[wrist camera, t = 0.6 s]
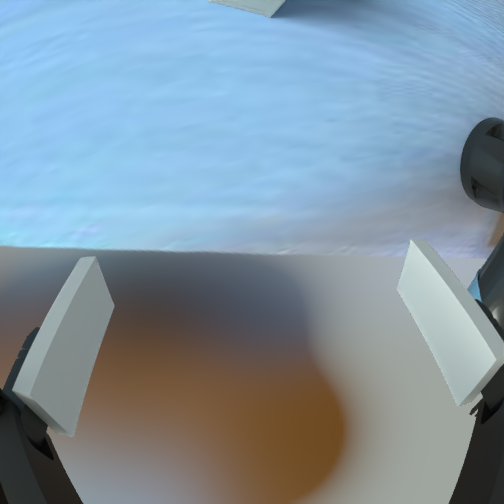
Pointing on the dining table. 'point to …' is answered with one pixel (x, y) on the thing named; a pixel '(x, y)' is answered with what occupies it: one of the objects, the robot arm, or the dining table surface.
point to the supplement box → (253, 5)
